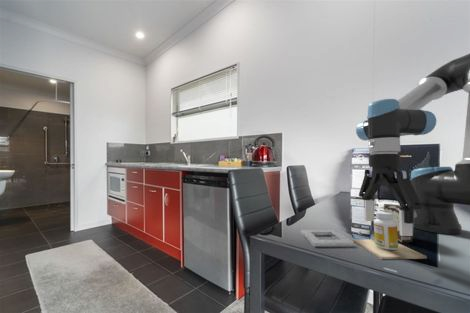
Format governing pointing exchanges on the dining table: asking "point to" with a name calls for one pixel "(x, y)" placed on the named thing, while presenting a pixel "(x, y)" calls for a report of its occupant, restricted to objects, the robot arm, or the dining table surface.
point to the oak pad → (400, 253)
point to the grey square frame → (338, 242)
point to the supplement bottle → (385, 231)
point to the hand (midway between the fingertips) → (385, 227)
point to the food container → (395, 211)
